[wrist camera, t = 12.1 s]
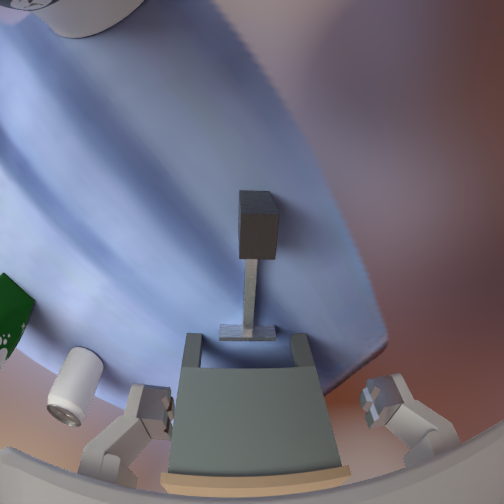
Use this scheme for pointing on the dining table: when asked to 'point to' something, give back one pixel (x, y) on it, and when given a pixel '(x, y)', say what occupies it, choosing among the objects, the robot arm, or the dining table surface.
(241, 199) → the block
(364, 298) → the dining table surface
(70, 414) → the can
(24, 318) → the milk carton
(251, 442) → the cabinet
